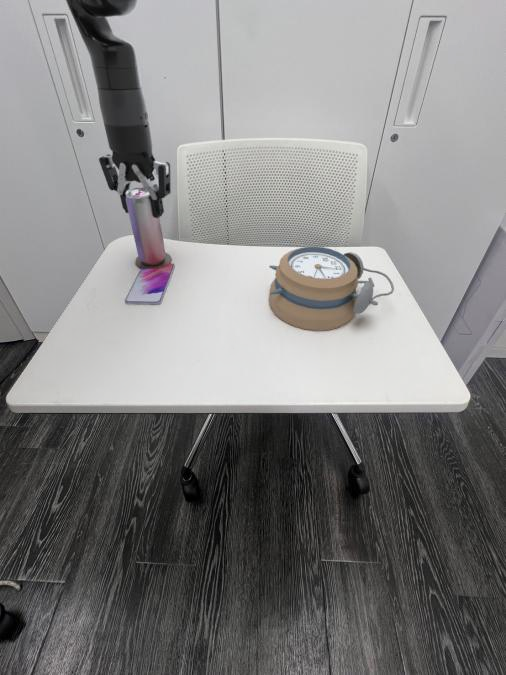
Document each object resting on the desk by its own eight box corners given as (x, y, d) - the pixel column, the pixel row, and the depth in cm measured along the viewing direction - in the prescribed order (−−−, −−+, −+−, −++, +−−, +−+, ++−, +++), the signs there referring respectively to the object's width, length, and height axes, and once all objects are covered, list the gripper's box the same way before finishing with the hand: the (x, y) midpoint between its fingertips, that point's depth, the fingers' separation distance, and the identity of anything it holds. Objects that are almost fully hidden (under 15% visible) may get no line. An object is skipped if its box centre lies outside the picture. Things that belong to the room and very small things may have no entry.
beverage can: (134, 263, 76) (118, 195, 66) (147, 251, 80) (134, 185, 70) (158, 268, 75) (146, 199, 65) (170, 255, 79) (160, 188, 69)
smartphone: (123, 302, 66) (143, 262, 77) (124, 305, 66) (144, 265, 77) (160, 303, 66) (175, 263, 77) (161, 306, 66) (175, 266, 77)
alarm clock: (270, 238, 68) (386, 242, 68) (267, 277, 74) (373, 281, 74) (272, 286, 55) (414, 291, 55) (268, 329, 61) (396, 333, 61)
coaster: (128, 266, 76) (128, 264, 75) (147, 250, 81) (146, 248, 81) (160, 273, 74) (160, 271, 74) (177, 256, 80) (177, 254, 80)
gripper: (76, 119, 58) (103, 216, 69) (152, 127, 55) (167, 227, 66) (103, 112, 63) (124, 203, 74) (173, 118, 60) (184, 212, 72)
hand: (144, 213), depth 70 cm, fingers closed on beverage can, 6 cm apart
